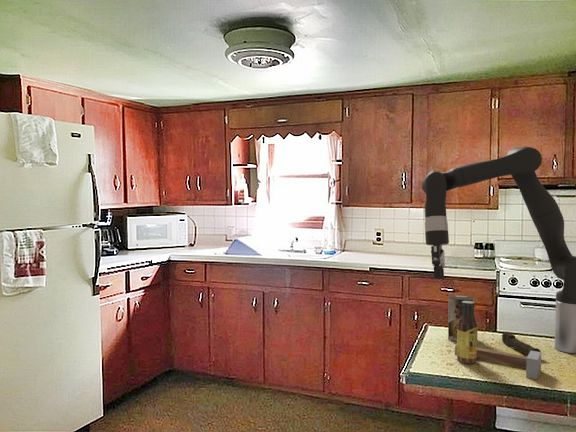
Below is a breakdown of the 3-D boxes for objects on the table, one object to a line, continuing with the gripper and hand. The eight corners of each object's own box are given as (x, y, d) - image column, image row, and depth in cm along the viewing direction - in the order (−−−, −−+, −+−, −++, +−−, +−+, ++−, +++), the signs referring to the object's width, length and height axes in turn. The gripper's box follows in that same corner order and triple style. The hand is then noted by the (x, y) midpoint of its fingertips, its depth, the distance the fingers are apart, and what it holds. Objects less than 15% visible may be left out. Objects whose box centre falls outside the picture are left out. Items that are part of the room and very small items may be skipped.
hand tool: (541, 360, 162) (541, 346, 161) (530, 360, 161) (530, 347, 161) (509, 342, 180) (509, 330, 180) (499, 342, 180) (499, 330, 180)
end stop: (530, 368, 153) (530, 350, 153) (540, 370, 152) (541, 352, 151) (526, 377, 147) (526, 357, 146) (537, 379, 145) (537, 359, 145)
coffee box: (474, 338, 185) (475, 296, 184) (473, 343, 179) (474, 300, 178) (449, 335, 188) (449, 294, 187) (447, 340, 183) (448, 297, 182)
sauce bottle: (472, 366, 156) (473, 305, 155) (453, 361, 160) (454, 302, 159) (480, 360, 161) (481, 301, 160) (461, 356, 165) (462, 298, 164)
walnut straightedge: (457, 352, 169) (457, 344, 169) (529, 366, 156) (530, 357, 156) (454, 354, 167) (455, 346, 167) (528, 368, 154) (528, 359, 154)
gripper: (445, 227, 156) (449, 277, 154) (450, 232, 169) (453, 279, 167) (422, 228, 159) (424, 278, 157) (428, 233, 172) (430, 279, 170)
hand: (439, 278), depth 162 cm, fingers open, 8 cm apart
